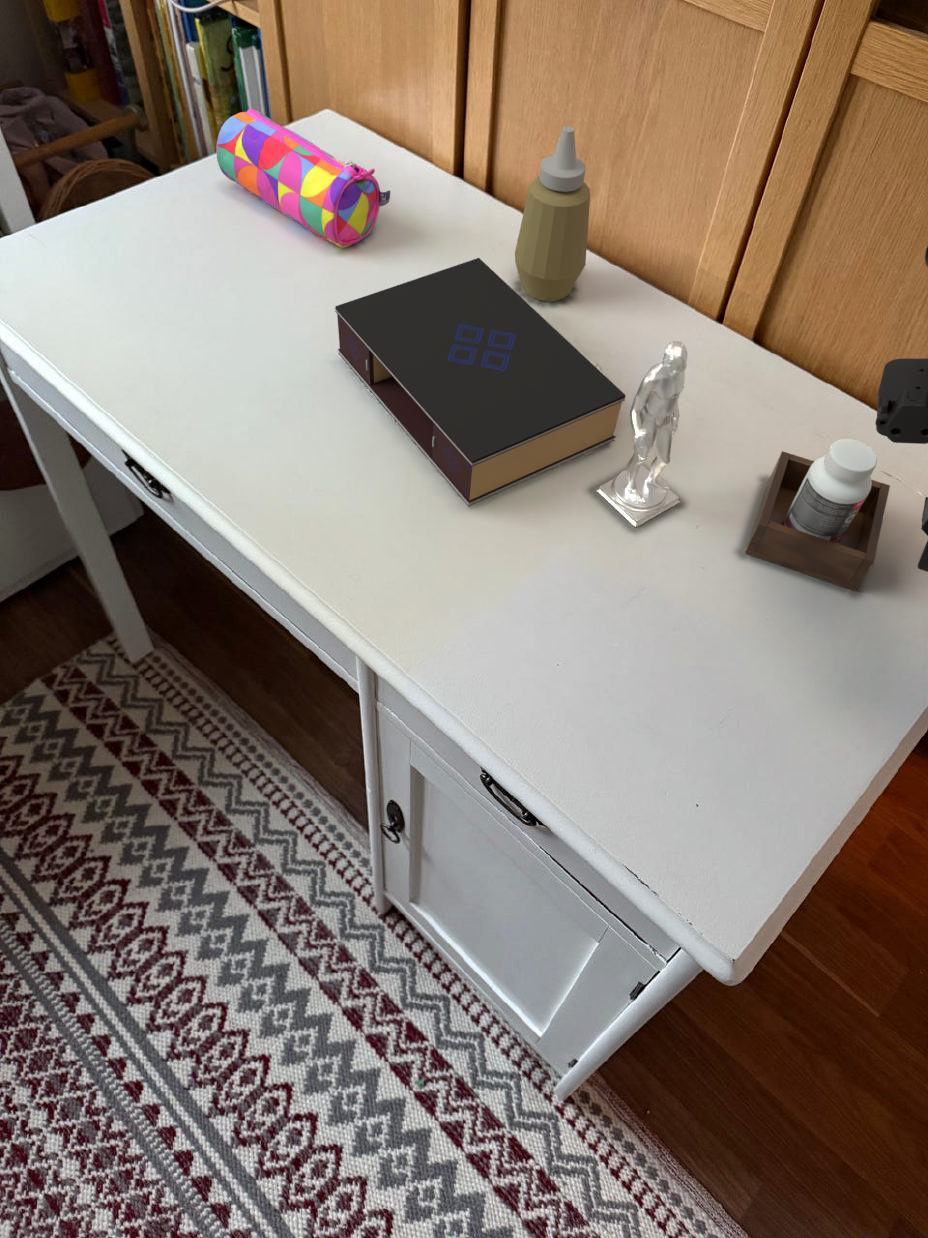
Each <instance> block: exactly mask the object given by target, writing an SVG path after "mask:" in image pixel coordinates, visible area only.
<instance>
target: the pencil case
mask: <svg viewBox="0 0 928 1238" xmlns="http://www.w3.org/2000/svg"><path fill="white" fill-rule="evenodd" d="M215 153H216V161H217V165H218V167H219V169H220V171H221V173H222V174H223V175H224V176H225V177H226V178H227V179H229V180H230V181H233V182H235V183H236V184H237V185H239V186H241V187H243V188H244V189H245V190H247V191H248V192H250V193H251V194H252V195H253V196H254V197H256V198H258V199H259V200H261V201H263V203H266V204H268V205H270V206H272V207H273V208H274V209H276V210H277V211H279V212H281V213H282V214H284V215H286V216H287V217H289V218H290V219H292V220H294V221H295V222H297V223H298V224H300V225H302V226H303V227H305V228H306V229H308V230H309V231H311V232H313V233H314V234H315V235H317V236H319V237H320V238H322V239H324V240H326V241H329V242H330V243H332V244H333V245H336V246H338V247H340V248H343V249H344V248H347V247H348V248H349V247H351V246H353V245H354V244H357V243H359V242H361V241H362V240H363V239H364V238H366V237H367V236H368V235H369V234H370V233H371V232H372V230H373V228H374V227H375V224H376V222H377V220H378V214H379V211H380V207H382V206H385V205H387V204H389V202H390V199H391V190H386V191H381V189H380V184H379V182H378V180H377V179H376V177H375V176H374V175H373V174H375V172H376V169H375V168H371V169H368V170H366V169H365V168H363V167H361V165H358V164H357V163H354V162H353V161H352V160H349V159H347V160H345V162H342V161H341V160H339V159H337V158H336V157H334V156H333V155H332V154H331V153H329V152H327V151H325V150H324V149H321V148H320V147H319V146H317V145H316V144H314V143H313V142H311V141H310V140H308V139H306V138H304V137H303V136H301V135H300V134H298V133H297V132H295V131H292V130H291V129H289V128H287V127H285V126H282V125H280V124H278V123H276V122H275V121H274V120H272V119H271V118H270V117H268V116H266V115H265V114H263V113H262V112H261V111H258V110H256V109H254V108H250V109H247V111H241V112H238V113H236V114H234V115H232V116H230V117H229V118H228V119H226V120H225V121H224V123H223V125H222V126H221V128H220V130H219V133H218V136H217V140H216V150H215Z"/></svg>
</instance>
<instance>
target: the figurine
mask: <svg viewBox="0 0 928 1238" xmlns="http://www.w3.org/2000/svg"><path fill="white" fill-rule="evenodd" d="M662 359H663V361H661V362H659V363H656V364H654V365H652V366H650V368H649V369H648V370H647V371H646V373H645V374H644V376H643V377H642V380H641V381H640V384H639V387H638V389H637V391H636V393H635V395H634V397H633V401H632V404H631V407H630V411H629V417H630V424H631V428H632V430H633V431H632V432H633V433H634V436H633V437H634V439H633V448H634V451H633V455H632V456H631V457H630V459H629V460H628V463H627V465H626V469H625V470H622V471H621V472H619V473H618V474H617V475H616V476H615V477H614V478H612V479H610V480H609V481H607V482H605V483H603V484H601V485H599V487H598V488H596V489H595V491H596V492H597V493H598V494H599V495H600V496H601V497H602V498H603V499H604V500H605V501H606V502H607V503H608V504H609V505H611V506H612V507H613V508H614V510H616V512H618V513H619V514H620V515H621V516H622V517H623V518H624V519H626V520H627V521H628V522H629V523H630V524H631V525H632V526H633V527H634V528H638V527H640V526H641V525H643V524H645V523H647V522H648V521H650V520H652V519H654V518H655V517H657V516H659V515H661V514H662V513H664V512H666V511H668V510H669V509H671V508H674V507H675V506H676V505H678V504H680V503H681V501H680V500H679V499H680V497H679V496H678V495H677V494H675V492H674V491H672V490H671V487H672V486H671V485H670V484H669V483H667V482H666V481H664V479H663V478H662V477H661V476H660V474H661V473H662V472H663V470H664V469H665V467H666V466H667V465H669V463H670V462H671V452H672V446H673V445H672V444H673V435H674V434H676V432H677V429H678V425H679V419H680V408H679V399H680V396H681V393H682V392H683V389H684V388H685V382H686V381H685V379H686V374H685V372H686V370H687V367H688V366H687V365H688V363H687V361H688V350H687V348H686V346H685V344H684V342H682V341H679V340H672V341H671V342H669V343H668V344H667V345H666V346H665V348H664V352H663V357H662ZM652 447H653V448H654V451H655V455H656V456H655V457H654V458H653V460H652V461H651V462H650V463H651V464H650V469H648V468H646V467H645V466H644V465H643V463H645V462H646V461H647V458H648V455H649V453H650V452H651V449H652Z"/></svg>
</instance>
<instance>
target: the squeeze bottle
mask: <svg viewBox="0 0 928 1238" xmlns="http://www.w3.org/2000/svg"><path fill="white" fill-rule="evenodd" d="M575 133H576V132H575V128H574V127H572V126H569V125H565V126H564V127H563V128H562V129H561V132H560V134H559V138H558V140H557V143H556V147H555V149H554V152H553V154H550V155H548V156H546V157H544V158H543V159H542V160H541V162H540V169H539V176H537V177H535V178H534V179H533V180H532V181H531V182H530V184H529V186H528V191H527V194H526V195H527V196H526V200H525V205H524V210H523V214H522V218H521V223H520V228H519V231H518V235H517V236H518V237H517V241H516V246H515V251H514V262H515V266H516V270H517V275H518V278H519V281H520V282H519V283H520V286H521V289H522V290H523V291H524V293H525V294H526V295H528V296H530V297H531V298H533V299H536V300H539V301H544V302H555V301H559V300H560V301H561V300H563V299H564V298H566V297H567V296H569V294H570V293H571V291H572V290H573V288H574V286H575V284H576V282H577V281H578V280H579V277H580V276H581V274H582V272H583V270H584V269H585V266H586V264H587V263H586V262H587V249H588V234H589V219H590V205H591V189H590V187H589V186H588V185H587V184H586V182H585V176H586V164H585V163H584V162H583V161H582V160H581V159H580V158H578V157H577V153H576V135H575Z"/></svg>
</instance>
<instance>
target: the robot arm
mask: <svg viewBox="0 0 928 1238" xmlns="http://www.w3.org/2000/svg"><path fill="white" fill-rule="evenodd" d="M924 261H925V262H924V263H925V266H926V267H927V268H928V246H926V249H925V255H924ZM877 392H878V393H877V406H876V407H877V408H876V419H875V424H874V425H875V430H876V432H877V433H878V434H879V435H880V436H883V437H886V438H887V439H888V440H889V441H890V442H892V443H893V444H894V443H895V444H917V445H919V444H920V445H927V444H928V358H895V359H892V360H890V361H888V362H887V363H886V364H885V365H884V367H883V370H882V375H881V379H880V384H879V387H878V391H877ZM920 530H921V531H923V533H924V534H925V535H926V536H927V537H928V496H925V499H924V506H923V510H922V516H921V527H920ZM917 569H918V570H920V571H923V572H926V573H928V539H927V540H926V543H925V545H924V547H923V550H922V552H921V554H920V557H919V560H918V562H917Z"/></svg>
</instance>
